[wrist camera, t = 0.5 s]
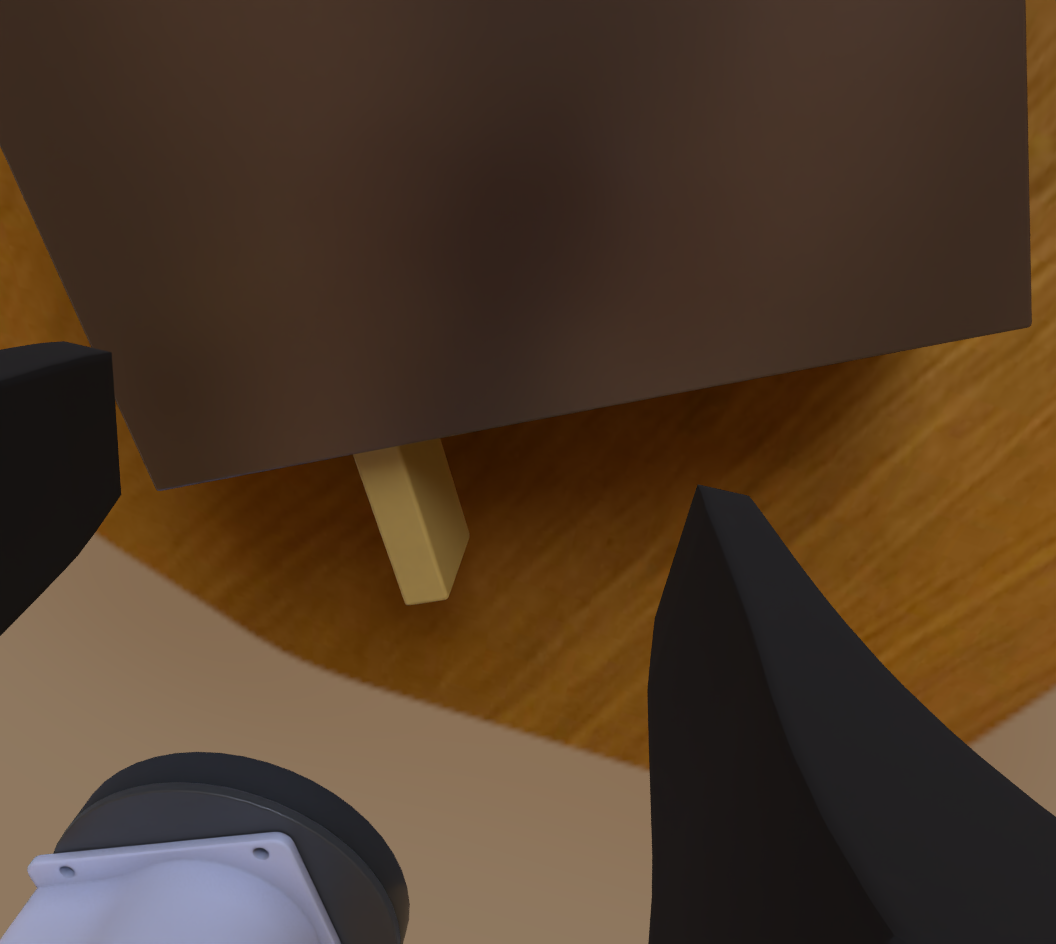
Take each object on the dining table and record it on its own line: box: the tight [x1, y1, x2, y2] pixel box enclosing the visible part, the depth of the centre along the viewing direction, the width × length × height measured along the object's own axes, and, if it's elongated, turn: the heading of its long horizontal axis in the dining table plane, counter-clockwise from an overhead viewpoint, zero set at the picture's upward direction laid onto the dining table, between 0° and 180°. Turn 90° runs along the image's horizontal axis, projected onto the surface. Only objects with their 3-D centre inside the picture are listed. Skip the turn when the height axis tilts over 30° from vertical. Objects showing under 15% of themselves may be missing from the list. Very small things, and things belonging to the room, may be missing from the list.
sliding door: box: [353, 438, 470, 605], centre depth 20 cm, size 7×5×4 cm
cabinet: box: [0, 0, 1032, 491], centre depth 16 cm, size 16×9×5 cm, turn 104°
